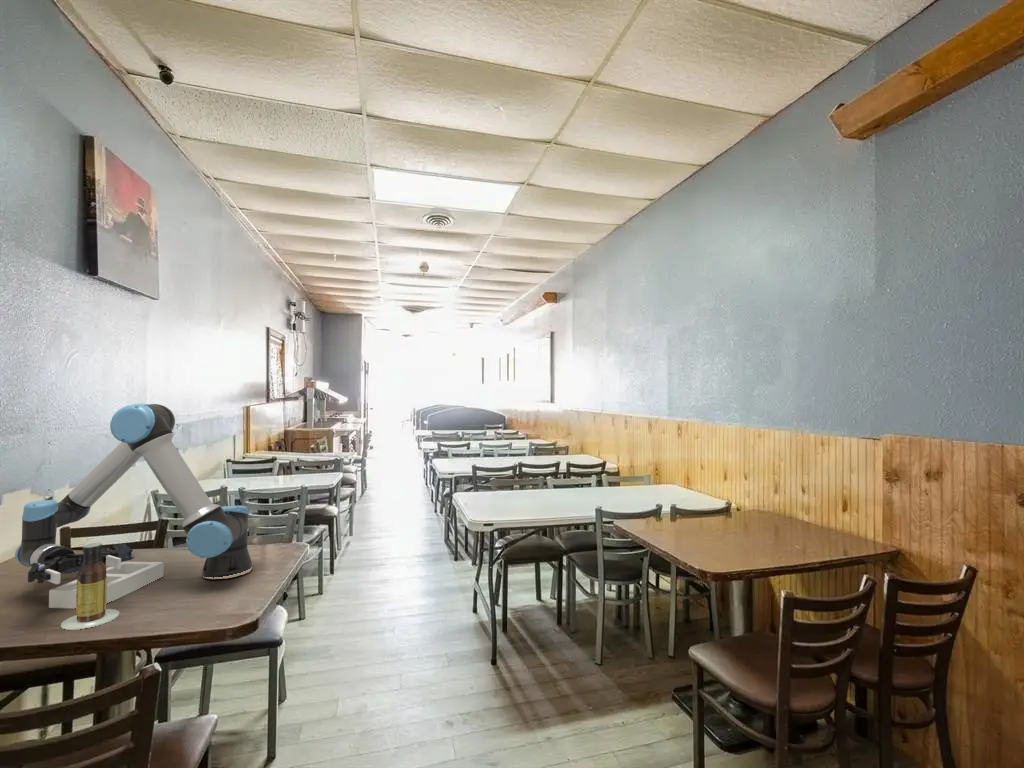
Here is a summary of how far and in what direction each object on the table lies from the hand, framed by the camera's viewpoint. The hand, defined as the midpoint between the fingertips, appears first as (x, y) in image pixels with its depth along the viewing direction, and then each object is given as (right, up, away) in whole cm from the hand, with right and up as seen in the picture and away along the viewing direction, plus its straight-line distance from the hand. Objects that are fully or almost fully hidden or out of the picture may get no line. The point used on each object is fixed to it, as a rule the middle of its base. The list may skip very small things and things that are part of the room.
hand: (90, 570), depth 133 cm
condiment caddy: (-11, -14, +20) cm, 26 cm away
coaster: (+1, -13, -1) cm, 13 cm away
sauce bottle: (+1, -13, -1) cm, 13 cm away
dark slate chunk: (-39, -16, +47) cm, 63 cm away
